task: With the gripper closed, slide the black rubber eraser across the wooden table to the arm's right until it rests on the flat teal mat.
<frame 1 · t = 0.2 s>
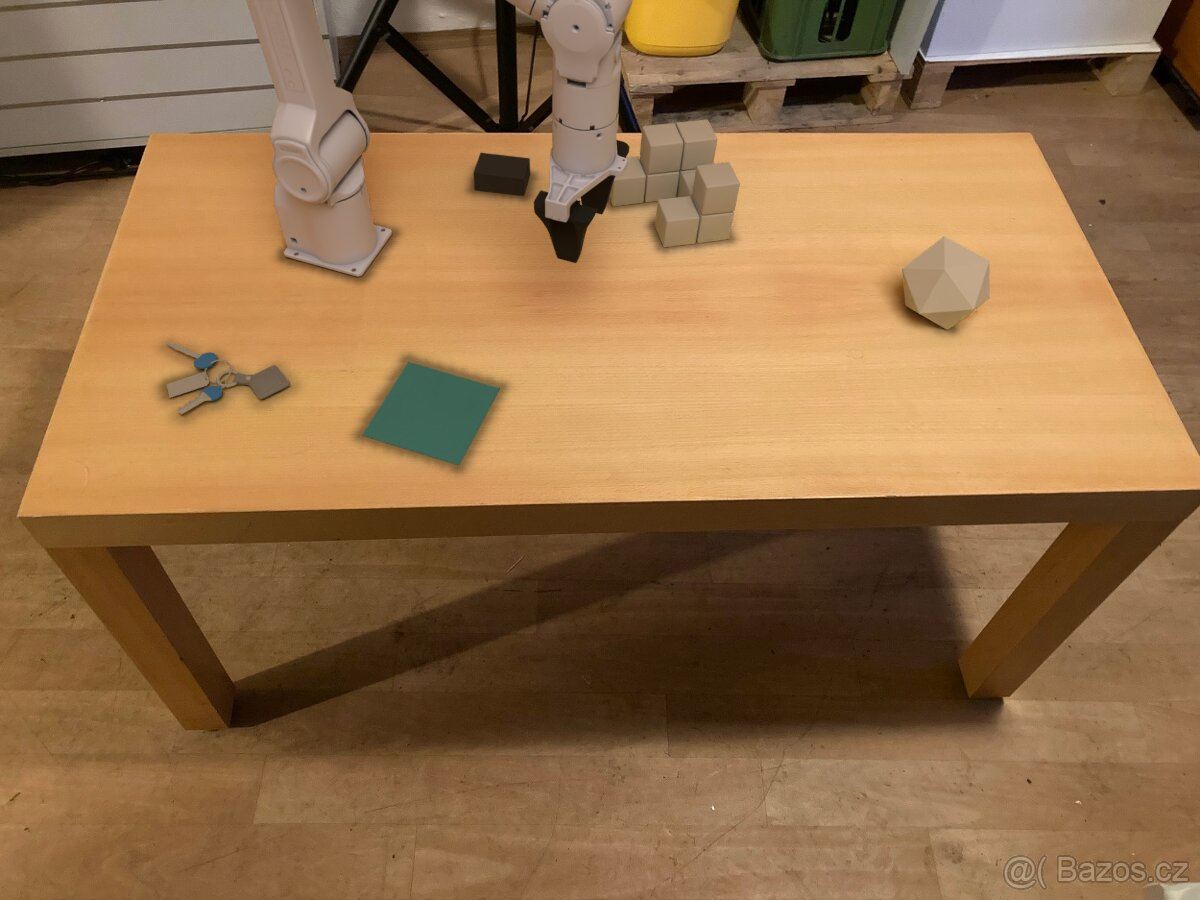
hand: (581, 233, 90), 10 cm above the table, tool pointing down, fingers open, 7 cm apart
grey cube cluster: (665, 214, 108), on the table
die: (932, 311, 100), on the table
eraser: (502, 182, 110), on the table
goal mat: (432, 411, 89), on the table
key chain: (214, 390, 89), on the table
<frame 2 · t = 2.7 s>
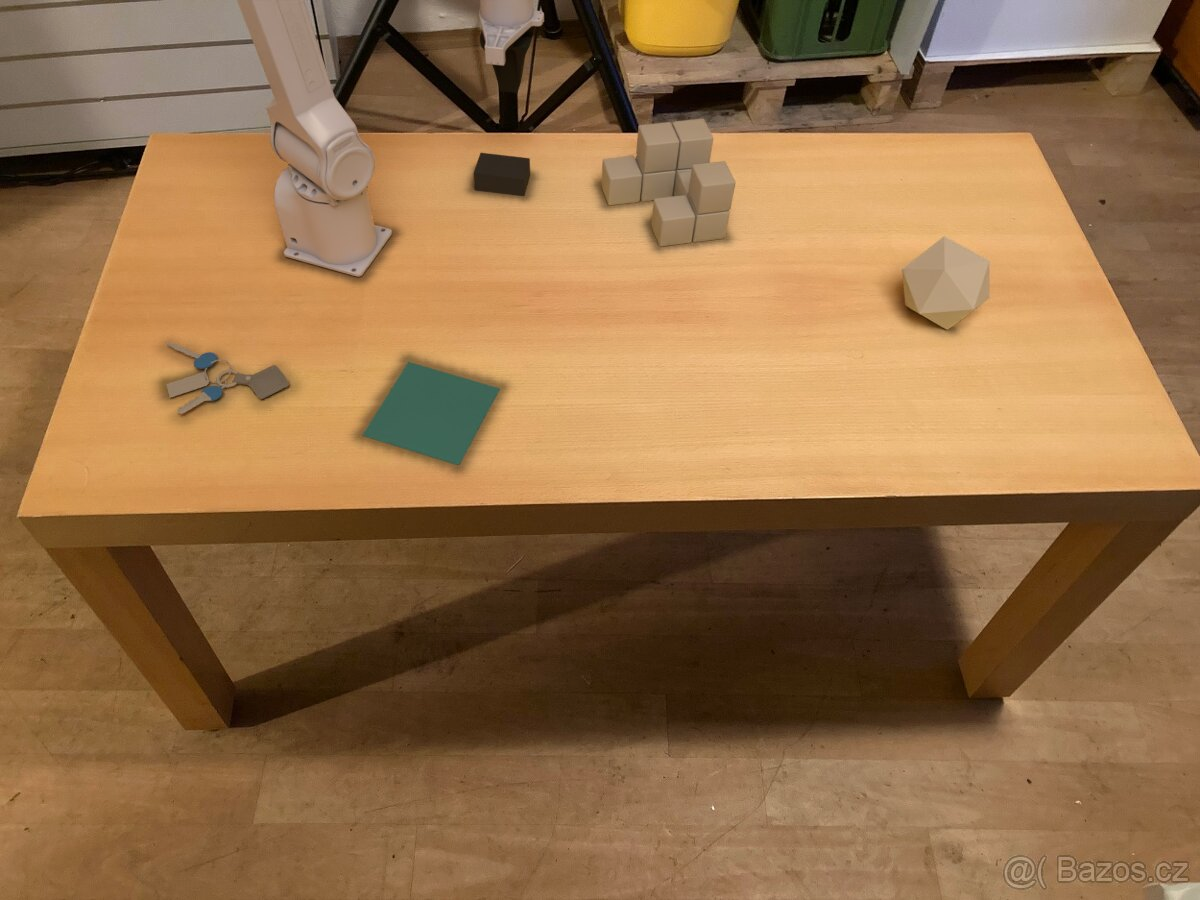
hand: (510, 88, 107), 8 cm above the table, tool pointing down, fingers closed
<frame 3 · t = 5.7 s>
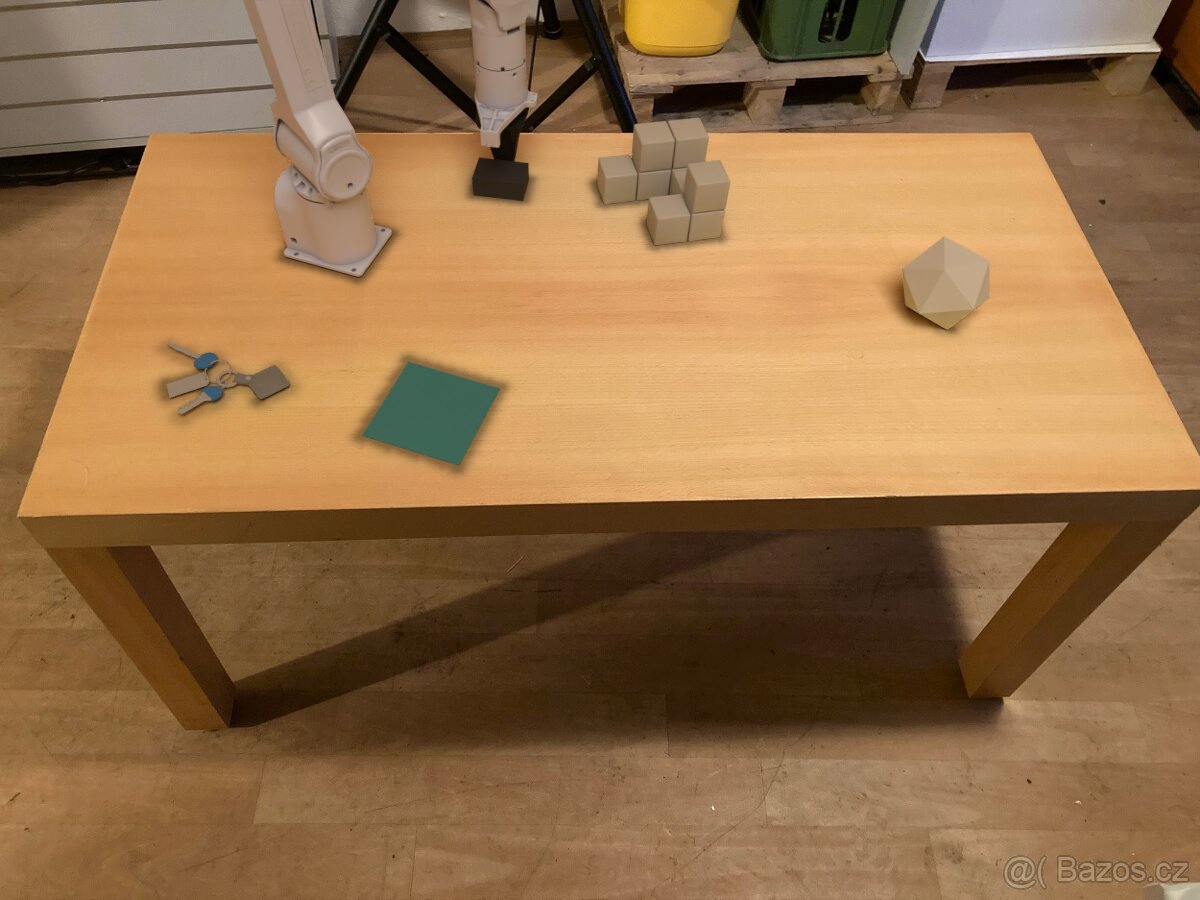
hand: (505, 162, 110), 1 cm above the table, tool pointing down, fingers closed
eraser: (501, 187, 109), on the table, touching gripper
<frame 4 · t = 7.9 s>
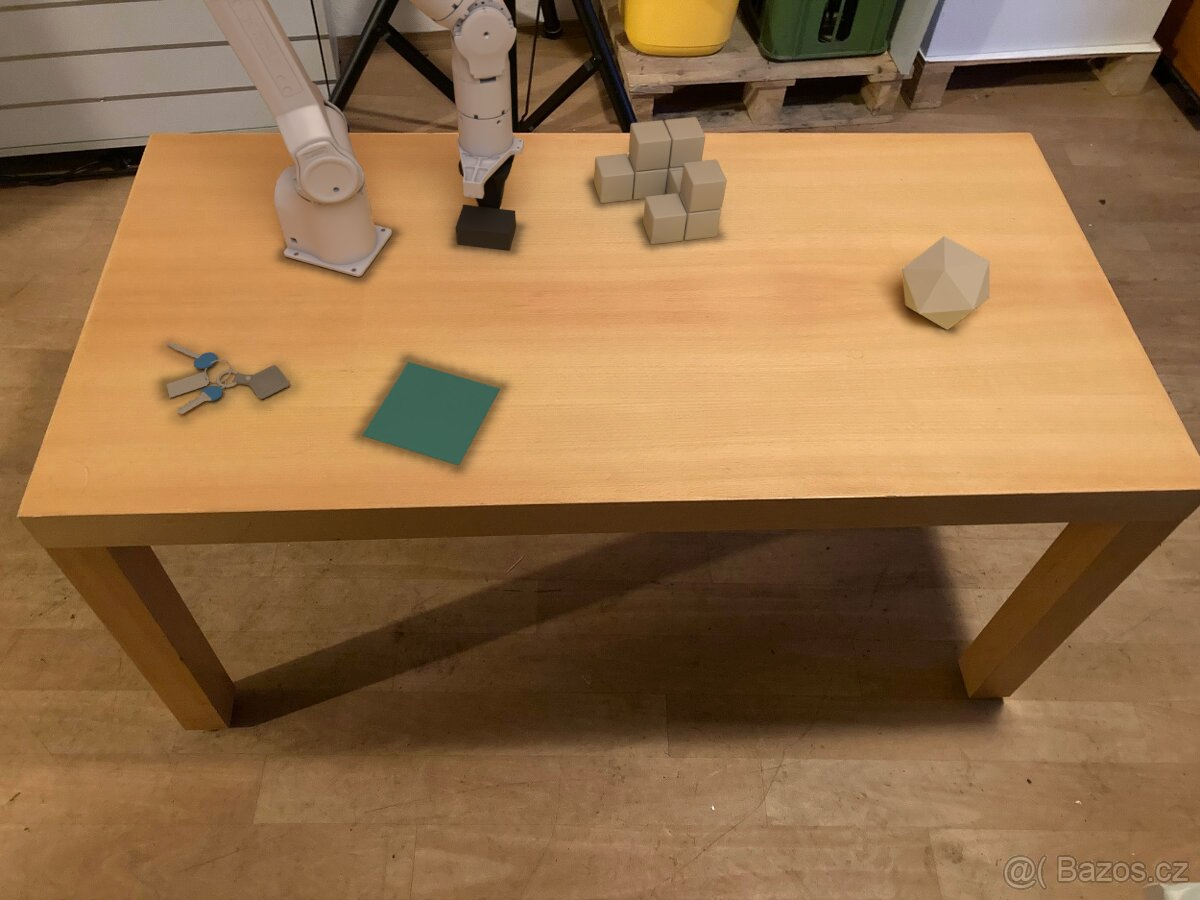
hand: (490, 209, 105), 1 cm above the table, tool pointing down, fingers closed
eraser: (487, 236, 104), on the table, touching gripper
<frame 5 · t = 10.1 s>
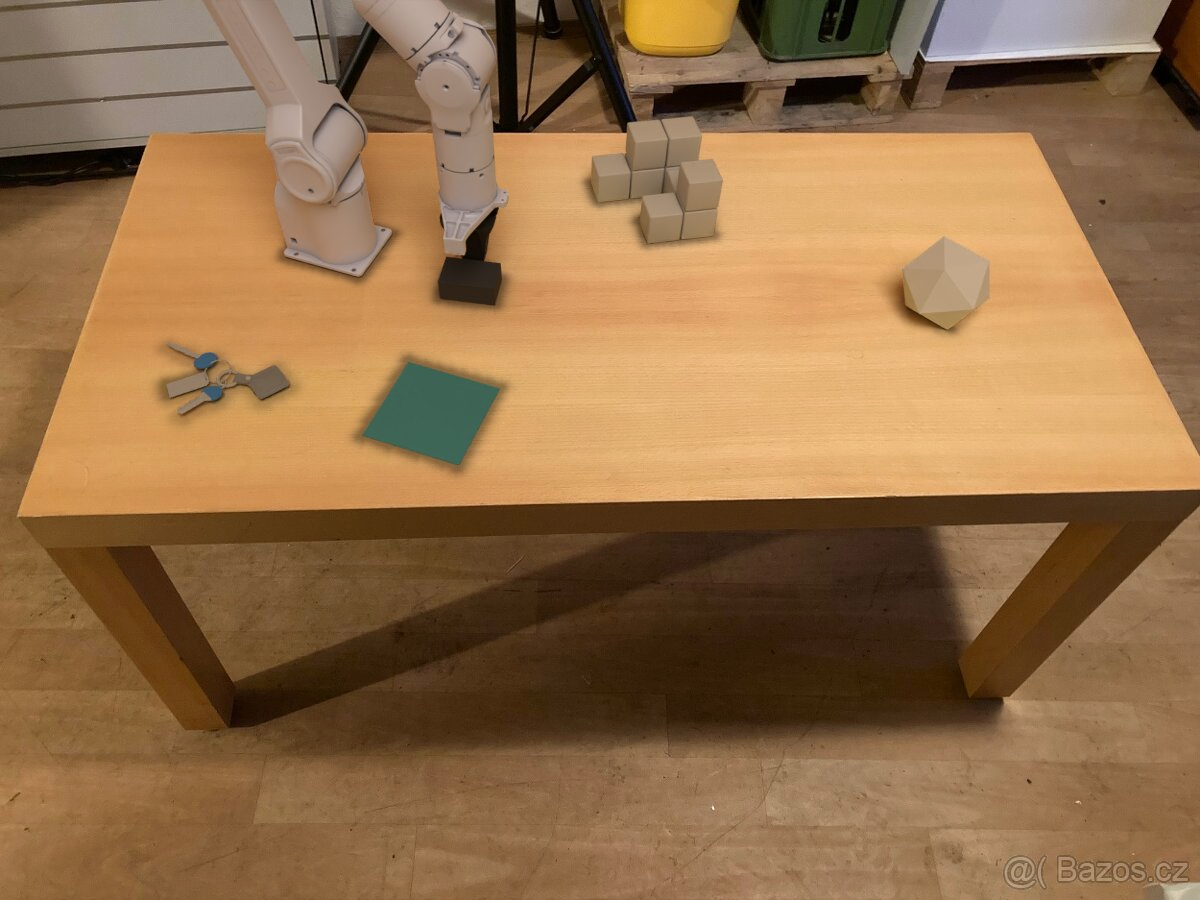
hand: (474, 261, 99), 1 cm above the table, tool pointing down, fingers closed
eraser: (471, 289, 99), on the table, touching gripper
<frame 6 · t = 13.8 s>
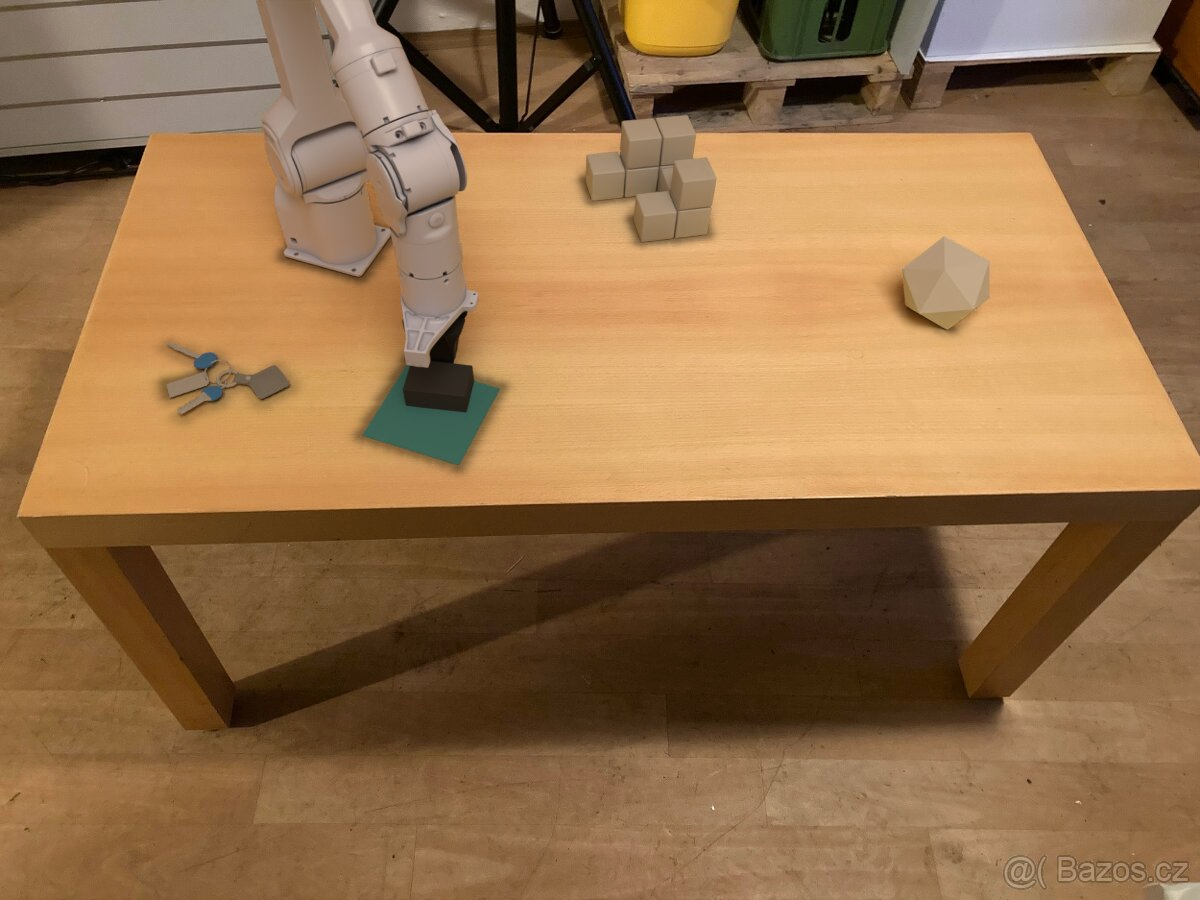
hand: (443, 361, 91), 1 cm above the table, tool pointing down, fingers closed
eraser: (440, 393, 90), on the table, touching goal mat
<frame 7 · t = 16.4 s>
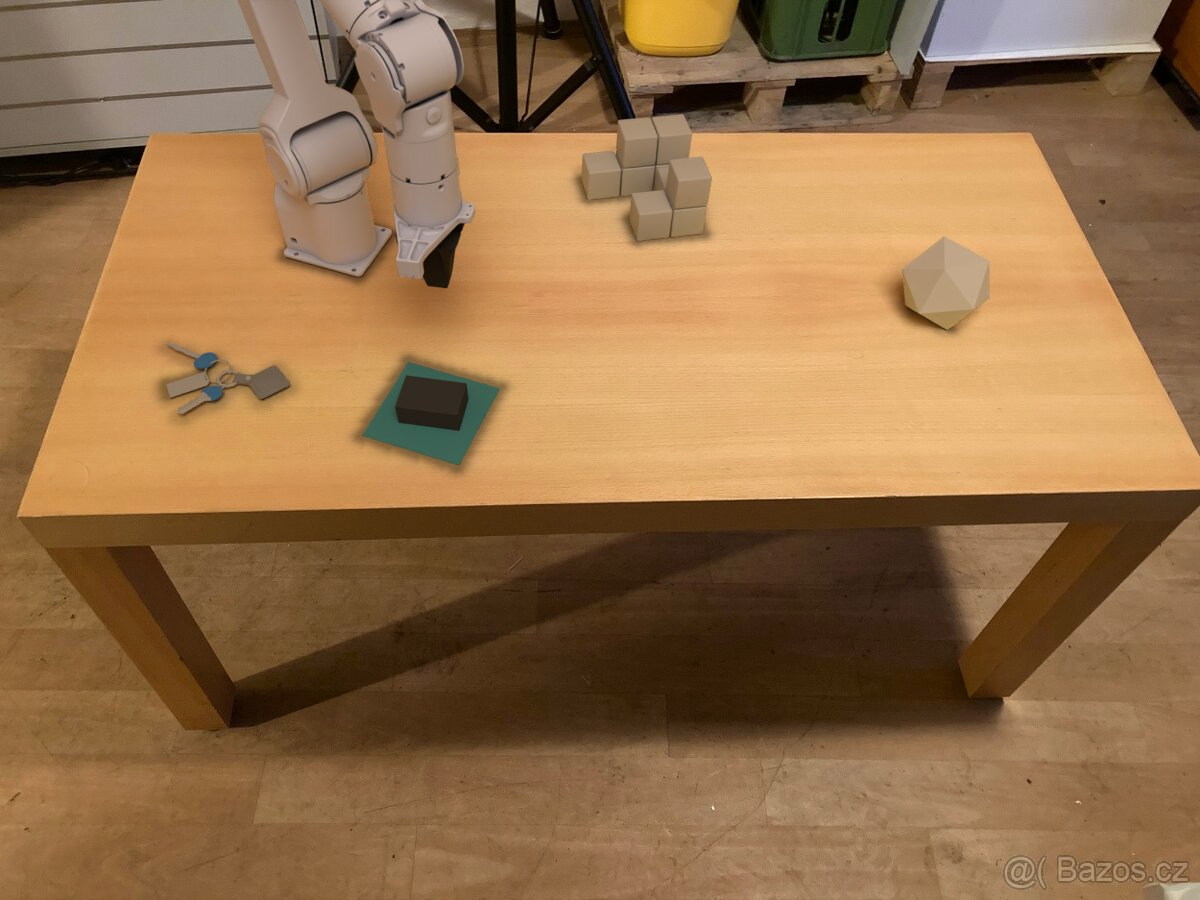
hand: (438, 282, 87), 8 cm above the table, tool pointing down, fingers closed
eraser: (433, 411, 89), on the table, touching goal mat
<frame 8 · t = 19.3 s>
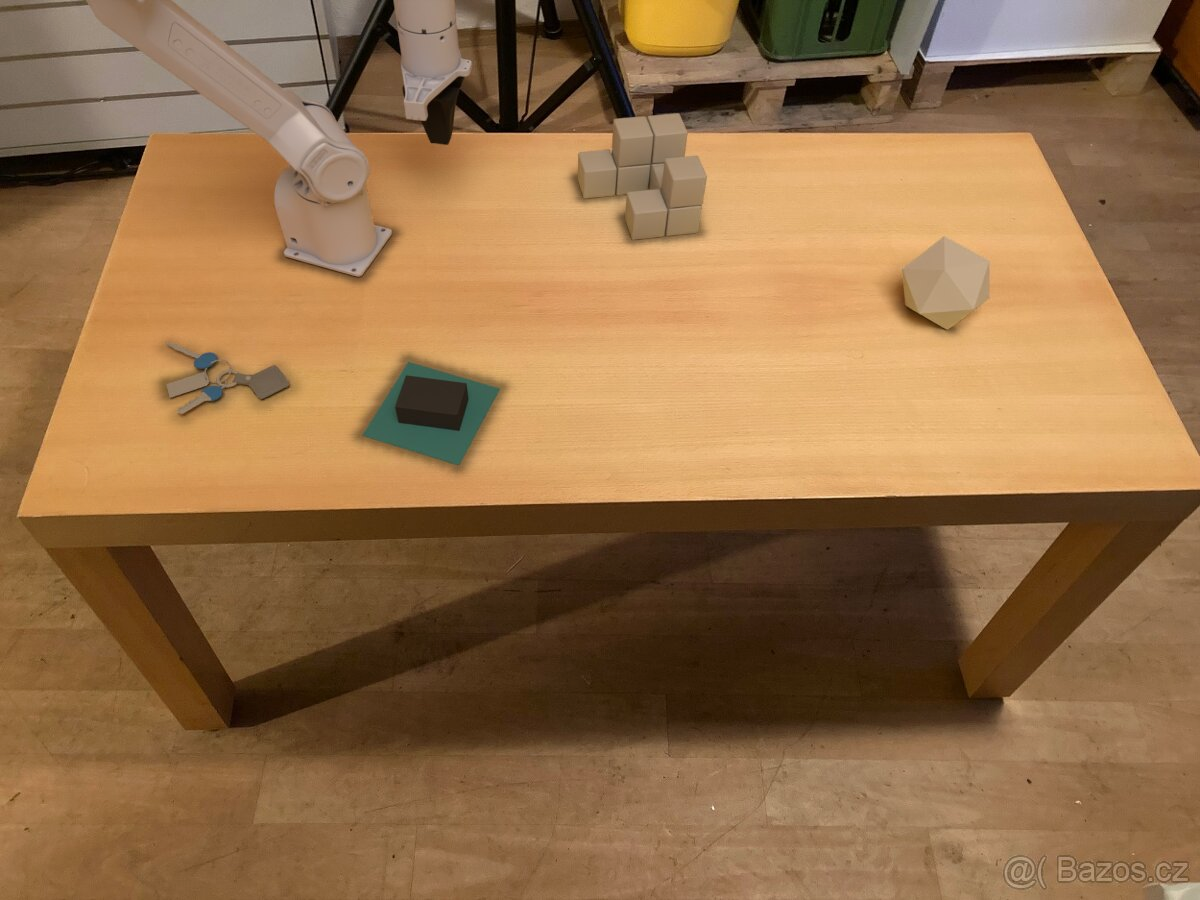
hand: (440, 140, 99), 9 cm above the table, tool pointing down, fingers closed
at the end: eraser inside the target area on the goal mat (0.1 cm from its centre), point 0.1 cm above the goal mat's base; eraser tilted 0°; eraser moved 35.7 cm from its start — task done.
